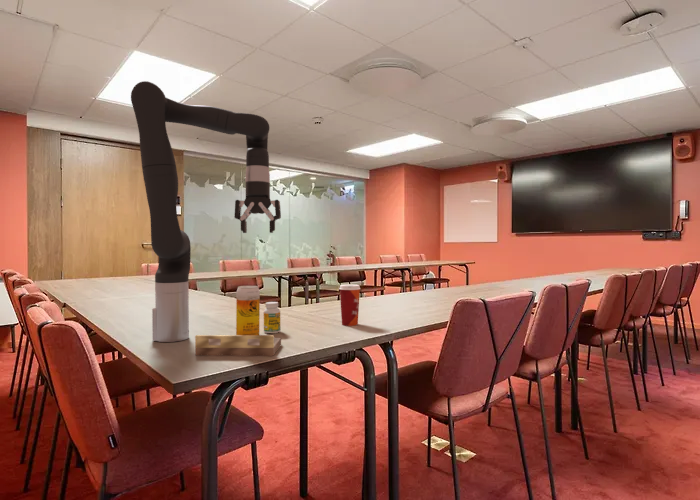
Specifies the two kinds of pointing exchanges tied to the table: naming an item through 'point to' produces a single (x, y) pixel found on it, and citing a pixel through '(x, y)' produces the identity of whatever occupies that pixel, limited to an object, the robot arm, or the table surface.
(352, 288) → the paper cup
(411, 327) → the table surface
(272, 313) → the supplement bottle
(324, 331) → the table surface
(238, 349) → the tan wooden block
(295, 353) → the table surface
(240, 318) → the orange vitamin bottle
